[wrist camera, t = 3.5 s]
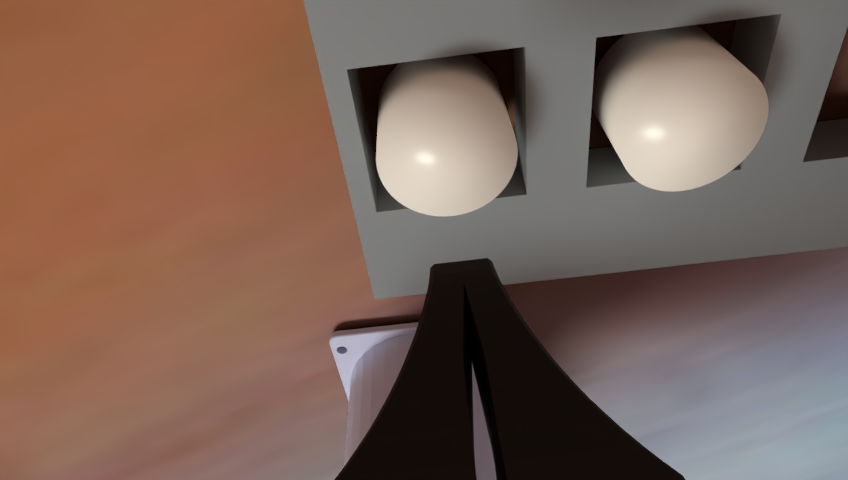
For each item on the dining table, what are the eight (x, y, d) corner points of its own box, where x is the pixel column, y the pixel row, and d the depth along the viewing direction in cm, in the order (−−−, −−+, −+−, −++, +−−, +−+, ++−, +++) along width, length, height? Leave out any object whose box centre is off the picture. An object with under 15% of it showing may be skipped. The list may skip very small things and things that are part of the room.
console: (891, 200, 25) (933, 237, 23) (376, 258, 26) (374, 299, 24) (1085, -215, 16) (1178, -211, 14) (295, -103, 17) (282, -85, 15)
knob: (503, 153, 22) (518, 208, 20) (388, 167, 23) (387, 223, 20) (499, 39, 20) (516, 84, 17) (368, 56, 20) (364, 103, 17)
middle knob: (706, 130, 22) (750, 182, 19) (587, 145, 22) (613, 198, 20) (730, 10, 19) (785, 52, 17) (594, 28, 19) (626, 71, 17)
